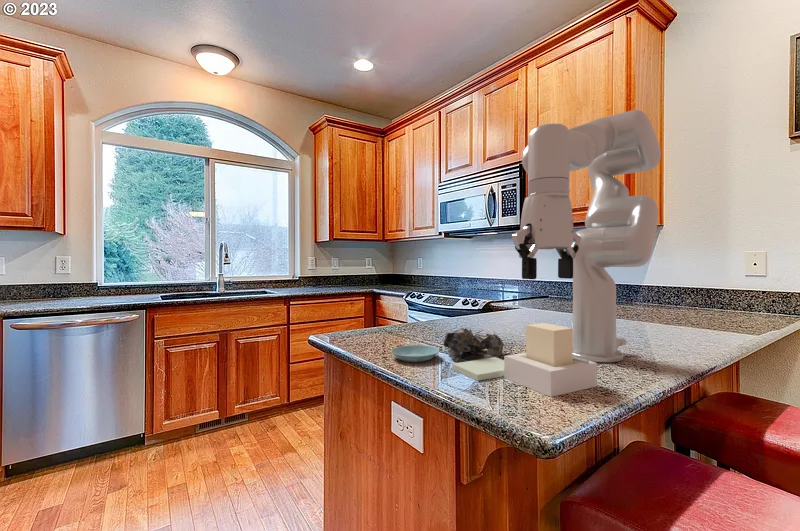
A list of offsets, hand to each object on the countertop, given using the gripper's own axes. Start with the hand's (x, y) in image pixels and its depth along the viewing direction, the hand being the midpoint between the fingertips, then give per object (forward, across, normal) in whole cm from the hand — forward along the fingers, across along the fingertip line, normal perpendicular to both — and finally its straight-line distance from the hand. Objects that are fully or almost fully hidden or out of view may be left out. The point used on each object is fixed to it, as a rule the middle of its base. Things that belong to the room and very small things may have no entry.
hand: (547, 278), depth 74 cm
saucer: (+21, +14, -28) cm, 38 cm away
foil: (+21, 0, -23) cm, 31 cm away
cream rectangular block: (+20, -1, 0) cm, 21 cm away
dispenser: (+20, -1, 0) cm, 20 cm away
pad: (+20, +5, -12) cm, 24 cm away
